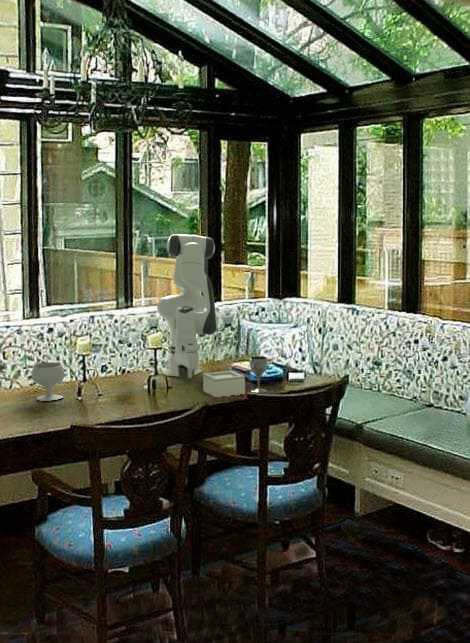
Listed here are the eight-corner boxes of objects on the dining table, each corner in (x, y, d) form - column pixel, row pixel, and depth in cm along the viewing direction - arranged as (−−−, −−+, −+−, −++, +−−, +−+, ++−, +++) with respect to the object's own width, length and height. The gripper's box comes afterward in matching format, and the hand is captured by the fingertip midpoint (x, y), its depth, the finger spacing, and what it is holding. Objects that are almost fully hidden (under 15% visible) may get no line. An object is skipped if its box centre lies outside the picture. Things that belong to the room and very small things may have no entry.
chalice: (30, 397, 389) (28, 363, 387) (62, 394, 395) (60, 360, 392) (35, 404, 377) (34, 369, 374) (68, 400, 382) (67, 366, 380)
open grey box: (203, 391, 395) (203, 373, 394) (232, 387, 401) (232, 370, 400) (215, 397, 383) (215, 379, 382) (245, 394, 388) (244, 376, 387)
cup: (195, 381, 391) (196, 364, 389) (193, 386, 383) (193, 368, 382) (179, 380, 391) (179, 362, 389) (176, 385, 384) (176, 367, 382)
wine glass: (262, 388, 399) (262, 355, 397) (271, 391, 392) (270, 358, 390) (246, 390, 396) (246, 357, 394) (255, 393, 389) (254, 360, 387)
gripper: (171, 340, 392) (171, 371, 395) (186, 349, 374) (187, 381, 376) (184, 339, 395) (185, 370, 397) (201, 348, 376) (201, 380, 379)
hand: (186, 375), depth 386 cm, fingers closed on cup, 6 cm apart
